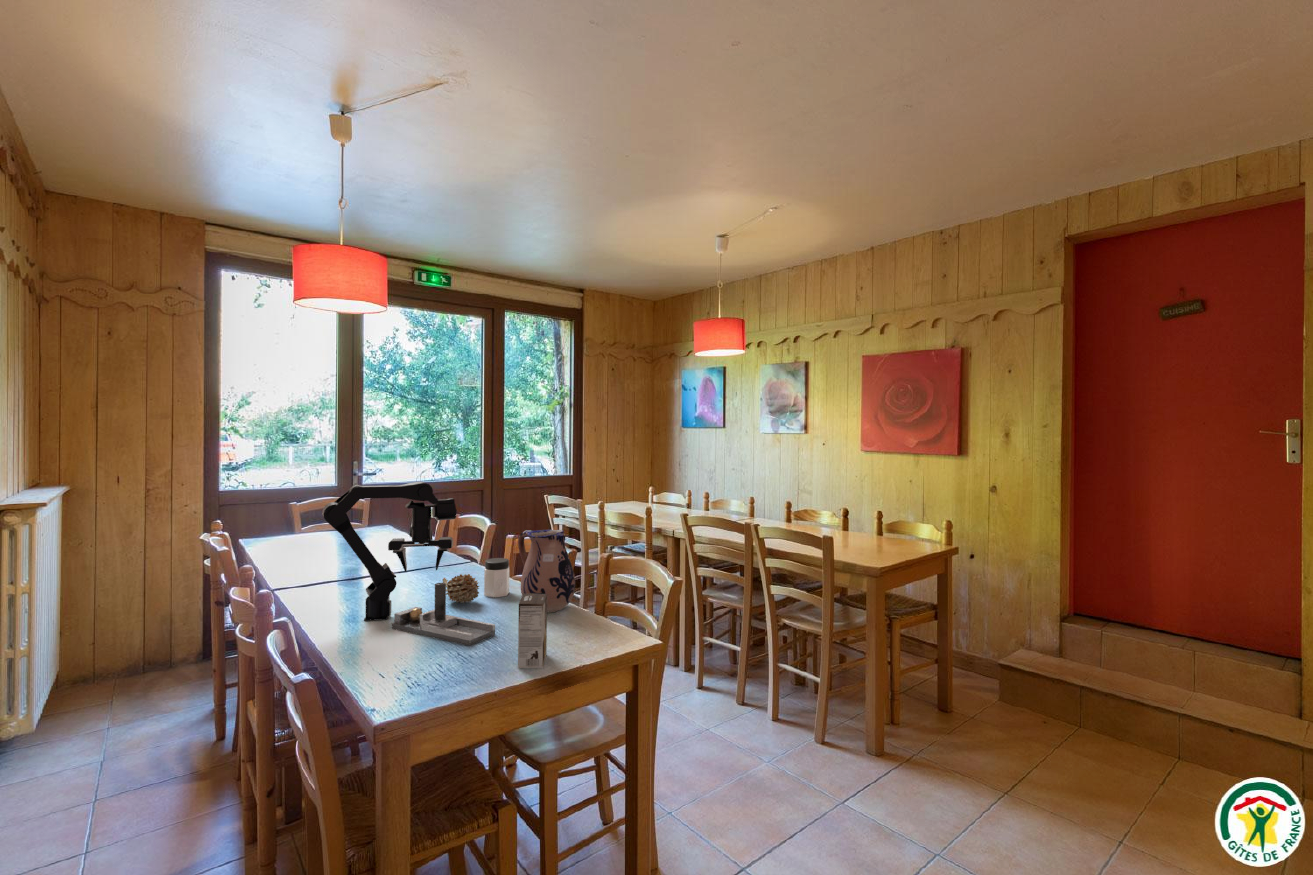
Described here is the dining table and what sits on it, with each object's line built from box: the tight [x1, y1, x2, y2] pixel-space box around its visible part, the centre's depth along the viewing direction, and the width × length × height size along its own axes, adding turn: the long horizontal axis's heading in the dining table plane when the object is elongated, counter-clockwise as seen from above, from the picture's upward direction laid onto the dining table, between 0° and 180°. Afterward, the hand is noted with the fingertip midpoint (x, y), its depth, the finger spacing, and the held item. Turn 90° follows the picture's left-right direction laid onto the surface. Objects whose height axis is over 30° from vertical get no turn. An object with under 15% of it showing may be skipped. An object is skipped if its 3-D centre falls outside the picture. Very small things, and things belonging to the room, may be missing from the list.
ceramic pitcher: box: [517, 529, 576, 613], centre depth 199 cm, size 18×21×25 cm
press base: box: [390, 606, 496, 647], centre depth 175 cm, size 30×10×5 cm, turn 64°
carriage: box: [420, 582, 458, 628], centre depth 176 cm, size 7×7×12 cm
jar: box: [483, 557, 510, 598], centre depth 215 cm, size 9×8×12 cm
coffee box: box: [517, 593, 548, 669], centre depth 154 cm, size 9×6×16 cm
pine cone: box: [442, 573, 480, 604], centre depth 206 cm, size 22×10×10 cm, turn 49°
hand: (421, 570), depth 194 cm, fingers open, 9 cm apart
